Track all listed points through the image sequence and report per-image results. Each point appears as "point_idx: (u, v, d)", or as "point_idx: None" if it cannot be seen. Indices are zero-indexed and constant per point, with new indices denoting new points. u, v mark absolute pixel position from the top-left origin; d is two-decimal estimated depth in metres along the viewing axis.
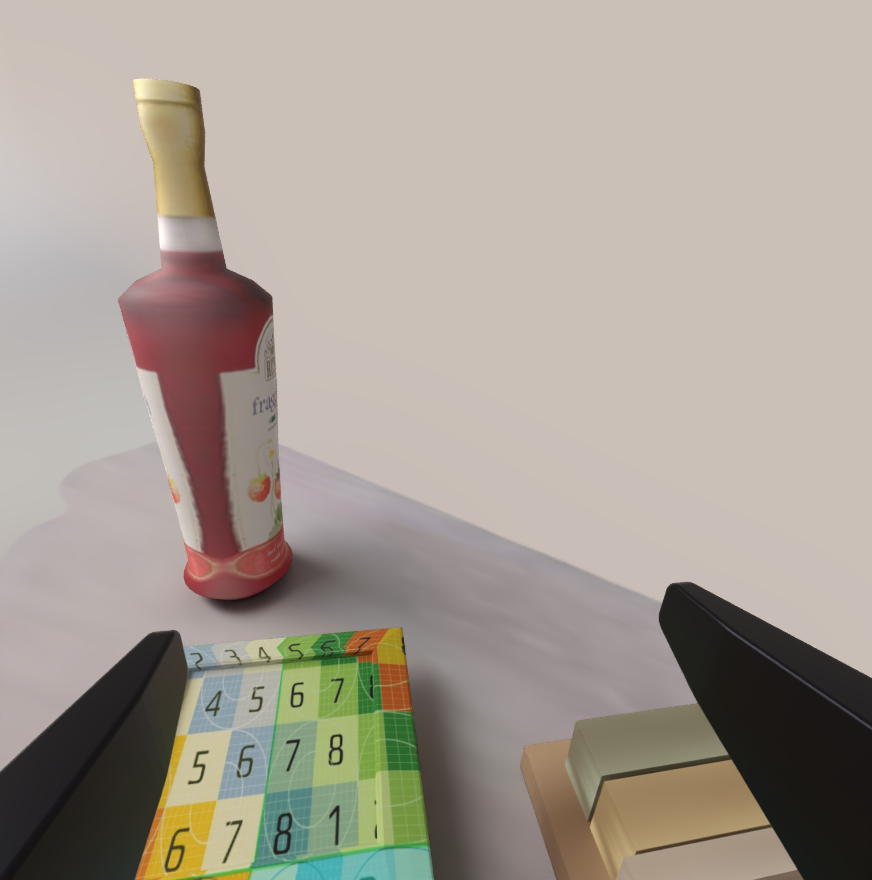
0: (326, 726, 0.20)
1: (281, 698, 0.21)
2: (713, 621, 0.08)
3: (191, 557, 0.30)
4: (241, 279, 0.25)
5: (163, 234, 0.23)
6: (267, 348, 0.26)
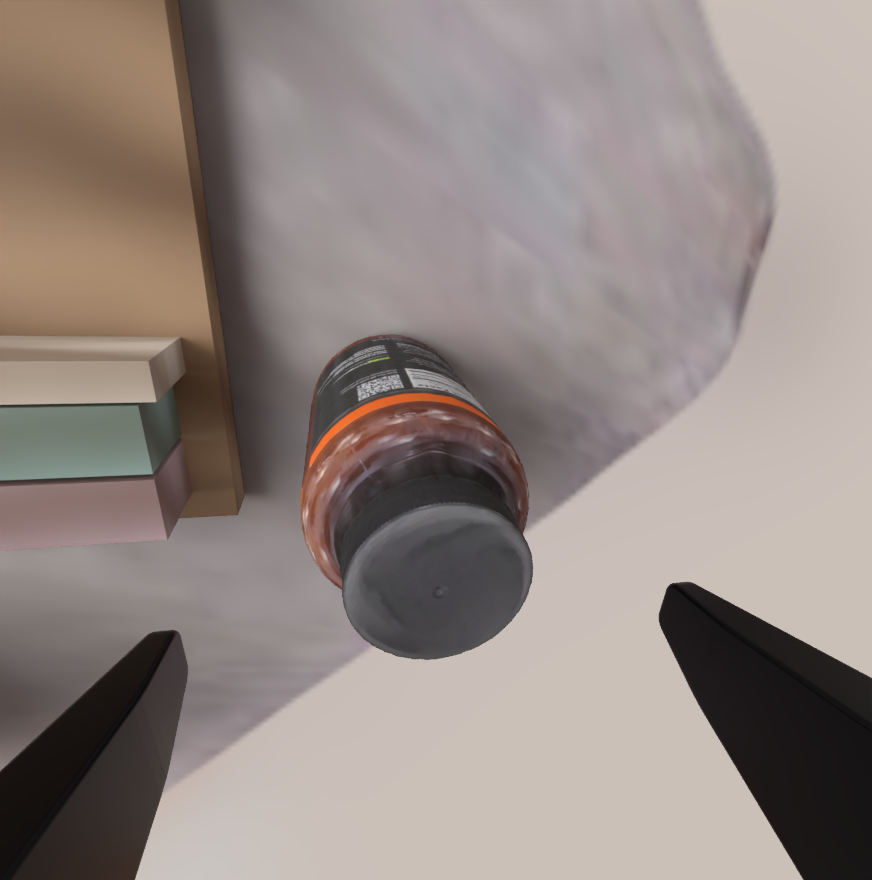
0: None
1: None
2: (713, 621, 0.08)
3: None
4: None
5: None
6: None
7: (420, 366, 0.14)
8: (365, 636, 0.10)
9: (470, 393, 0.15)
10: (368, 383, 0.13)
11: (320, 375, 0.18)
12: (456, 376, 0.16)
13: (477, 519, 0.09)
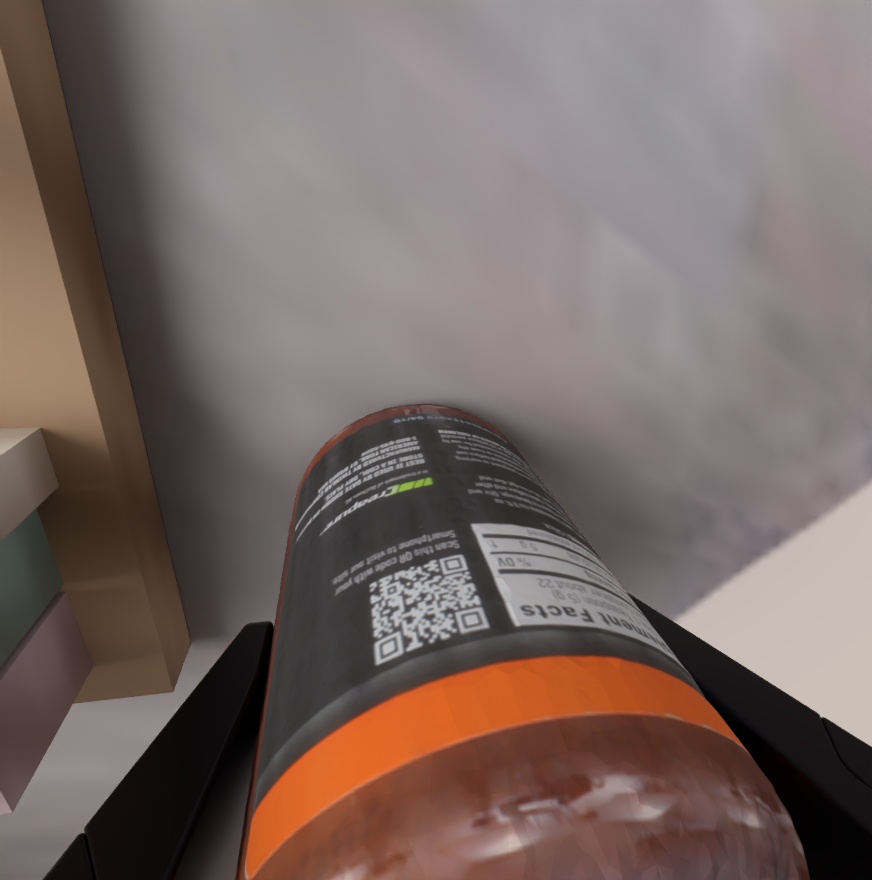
0: None
1: None
2: None
3: None
4: None
5: None
6: None
7: (500, 510, 0.07)
8: None
9: (596, 556, 0.07)
10: (396, 583, 0.06)
11: (305, 473, 0.11)
12: (551, 498, 0.09)
13: None
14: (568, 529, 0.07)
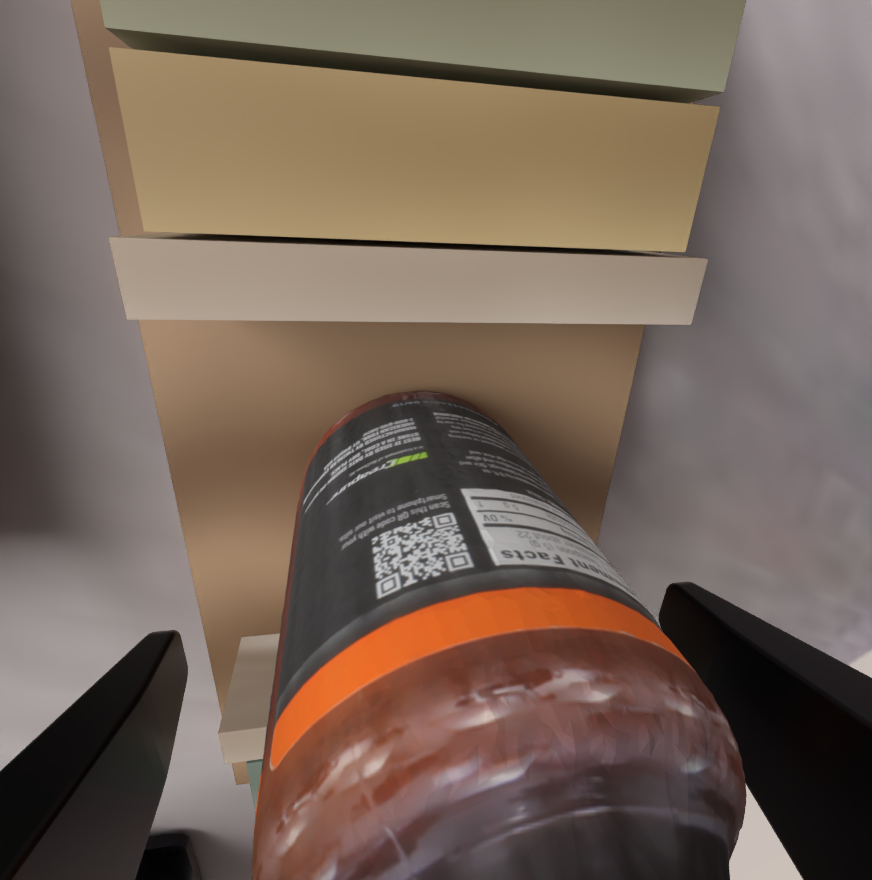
0: None
1: None
2: (713, 621, 0.08)
3: None
4: None
5: None
6: None
7: (487, 478, 0.08)
8: None
9: (574, 520, 0.08)
10: (395, 536, 0.07)
11: (311, 455, 0.12)
12: (536, 472, 0.10)
13: None
14: (549, 496, 0.08)
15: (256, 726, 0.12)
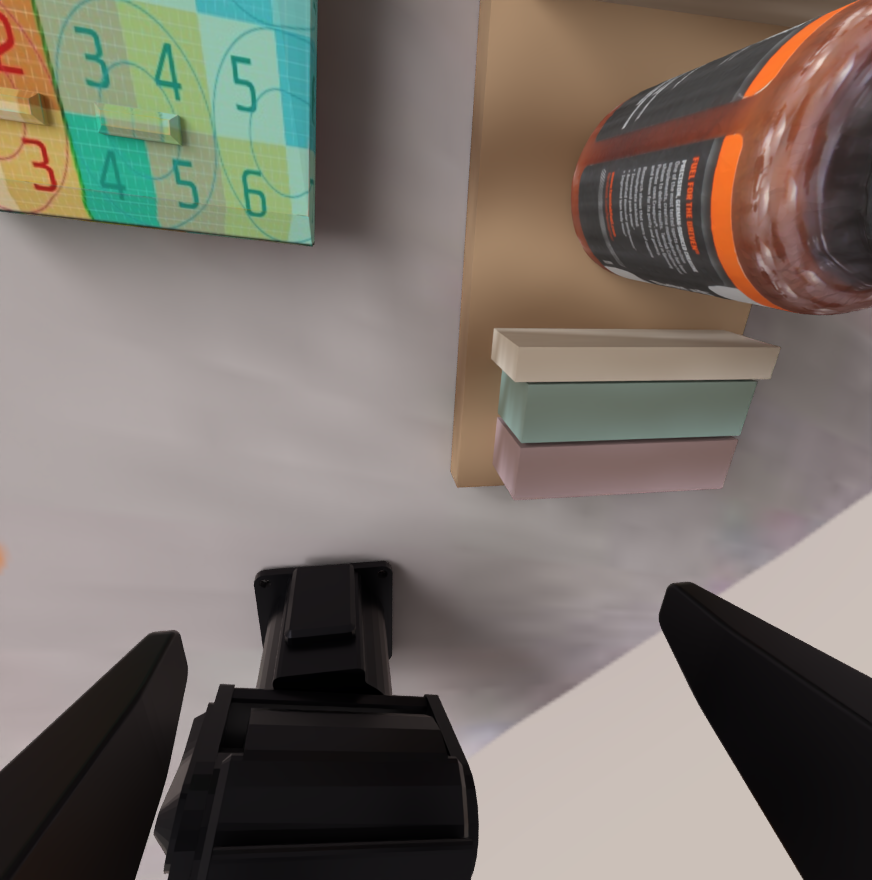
0: None
1: None
2: (713, 621, 0.08)
3: None
4: None
5: None
6: None
7: None
8: None
9: None
10: (777, 34, 0.11)
11: (590, 138, 0.16)
12: None
13: None
14: None
15: (544, 346, 0.16)
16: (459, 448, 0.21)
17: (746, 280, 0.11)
